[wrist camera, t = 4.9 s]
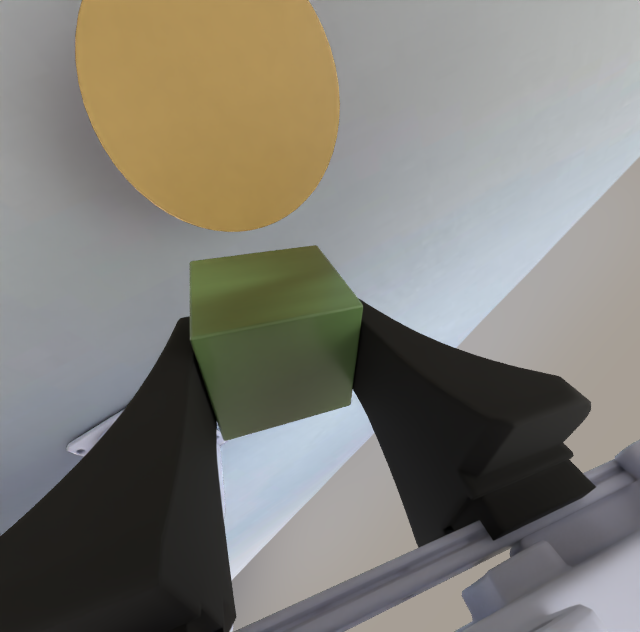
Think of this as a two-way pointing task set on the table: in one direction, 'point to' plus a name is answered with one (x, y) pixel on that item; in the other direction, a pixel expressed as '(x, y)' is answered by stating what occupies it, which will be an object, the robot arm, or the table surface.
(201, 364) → the block
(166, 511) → the robot arm
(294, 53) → the lid
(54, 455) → the table surface
